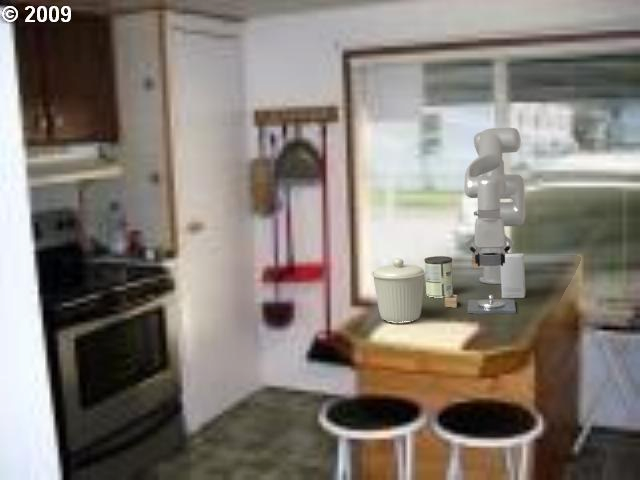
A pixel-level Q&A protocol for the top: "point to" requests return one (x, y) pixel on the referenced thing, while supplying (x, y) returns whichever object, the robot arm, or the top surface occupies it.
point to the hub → (491, 306)
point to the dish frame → (475, 266)
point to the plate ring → (490, 259)
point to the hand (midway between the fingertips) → (490, 265)
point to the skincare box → (513, 276)
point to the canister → (399, 291)
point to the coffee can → (438, 276)
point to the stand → (451, 300)
